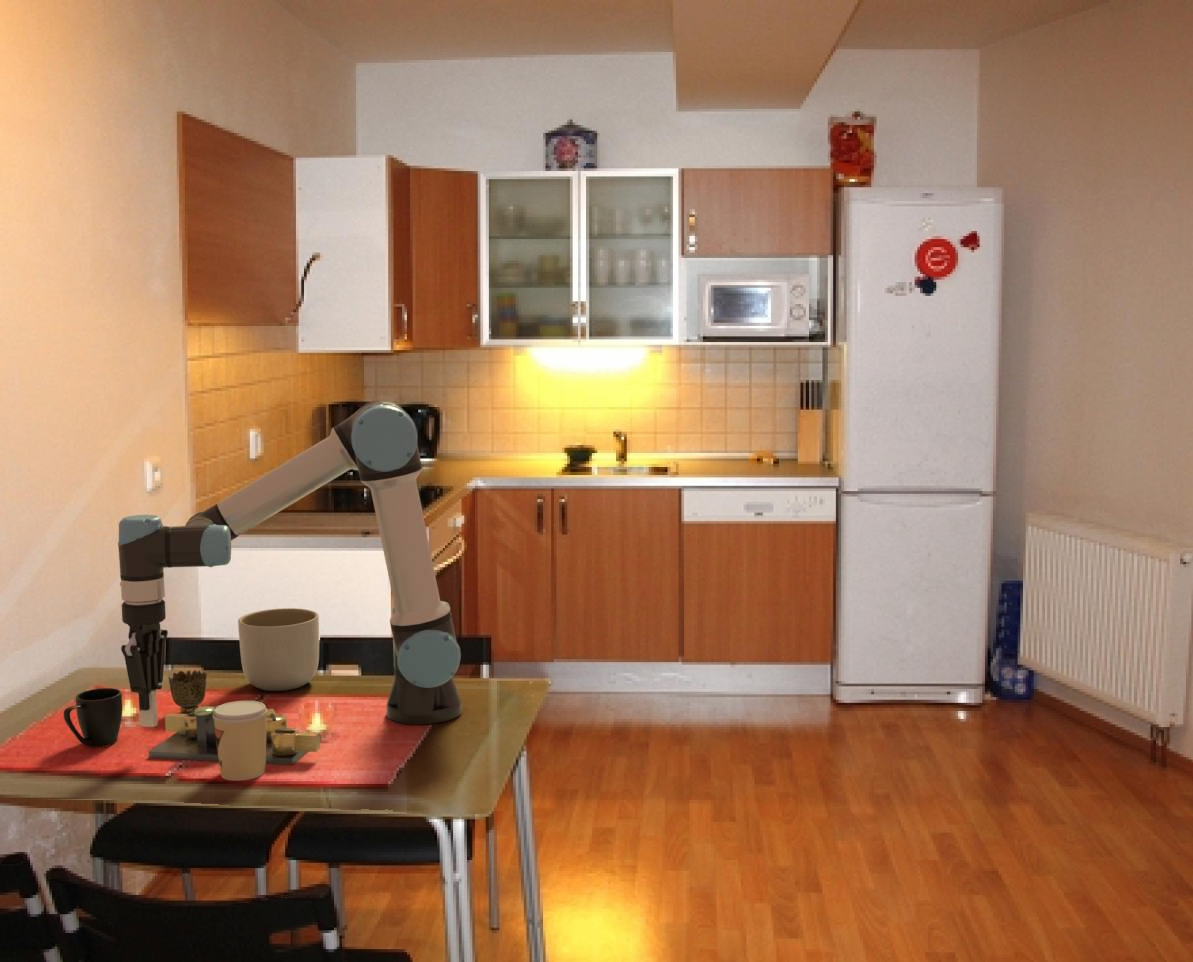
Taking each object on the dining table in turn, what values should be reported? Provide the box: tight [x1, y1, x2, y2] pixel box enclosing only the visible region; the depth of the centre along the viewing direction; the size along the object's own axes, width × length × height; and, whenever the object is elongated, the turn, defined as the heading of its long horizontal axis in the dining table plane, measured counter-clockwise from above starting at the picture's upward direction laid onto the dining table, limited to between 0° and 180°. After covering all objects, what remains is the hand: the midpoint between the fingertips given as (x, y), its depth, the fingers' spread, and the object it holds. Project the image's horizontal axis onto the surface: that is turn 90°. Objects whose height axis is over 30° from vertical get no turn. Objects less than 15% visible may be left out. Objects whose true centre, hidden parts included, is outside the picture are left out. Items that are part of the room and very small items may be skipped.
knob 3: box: [271, 727, 321, 755], centre depth 240 cm, size 9×5×4 cm, turn 80°
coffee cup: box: [213, 700, 268, 782], centre depth 233 cm, size 9×9×12 cm
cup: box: [168, 669, 208, 714], centre depth 268 cm, size 8×7×8 cm
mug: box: [63, 687, 123, 748], centre depth 249 cm, size 8×12×10 cm
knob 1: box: [164, 712, 197, 738], centre depth 251 cm, size 9×5×4 cm, turn 80°
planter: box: [237, 607, 320, 692], centre depth 286 cm, size 17×17×15 cm
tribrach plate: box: [148, 705, 322, 766], centre depth 246 cm, size 28×14×8 cm, turn 80°
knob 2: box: [266, 708, 288, 740], centre depth 250 cm, size 9×5×4 cm, turn 23°
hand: (148, 725), depth 242 cm, fingers closed
